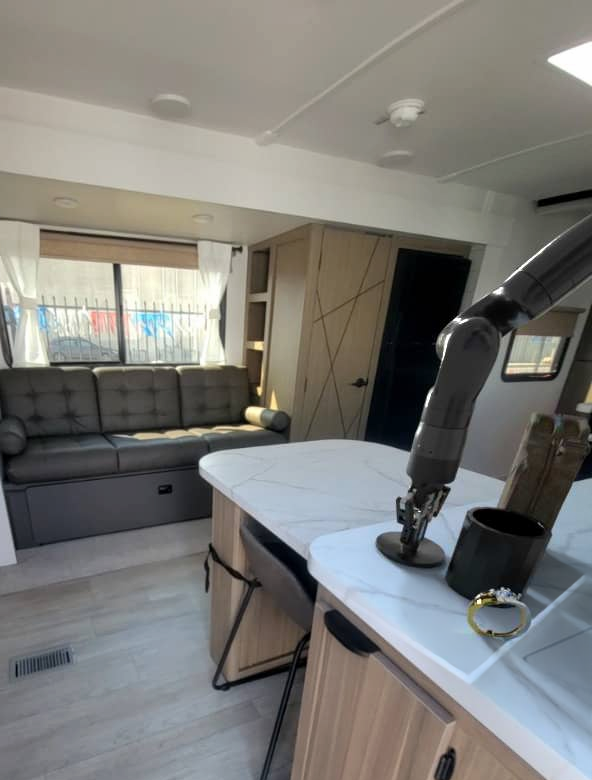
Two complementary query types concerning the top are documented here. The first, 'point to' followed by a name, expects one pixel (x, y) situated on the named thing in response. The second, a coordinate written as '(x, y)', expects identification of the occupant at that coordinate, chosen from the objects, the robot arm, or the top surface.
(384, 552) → the lid
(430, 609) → the top surface
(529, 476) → the weathered brown block
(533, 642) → the top surface
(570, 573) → the top surface
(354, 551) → the top surface
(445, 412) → the robot arm
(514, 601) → the ring
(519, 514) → the tin
